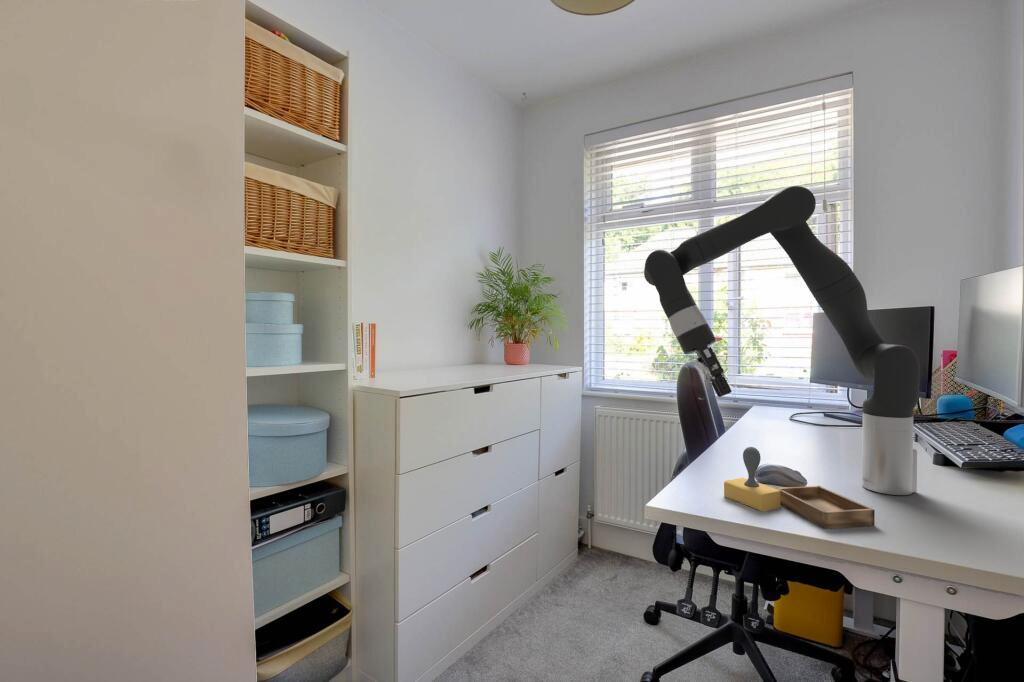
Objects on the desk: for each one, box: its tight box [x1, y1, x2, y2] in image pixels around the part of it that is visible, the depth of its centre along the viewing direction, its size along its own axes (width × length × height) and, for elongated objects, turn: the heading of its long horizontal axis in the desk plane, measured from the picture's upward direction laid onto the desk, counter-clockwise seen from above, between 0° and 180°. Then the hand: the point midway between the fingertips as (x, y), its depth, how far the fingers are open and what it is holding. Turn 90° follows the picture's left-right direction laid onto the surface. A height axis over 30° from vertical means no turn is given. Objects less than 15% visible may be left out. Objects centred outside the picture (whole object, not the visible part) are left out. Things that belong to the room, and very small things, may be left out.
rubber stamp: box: [723, 446, 781, 512], centre depth 105 cm, size 10×6×12 cm, turn 23°
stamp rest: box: [774, 485, 876, 530], centre depth 99 cm, size 10×14×3 cm
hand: (725, 395), depth 108 cm, fingers open, 8 cm apart
